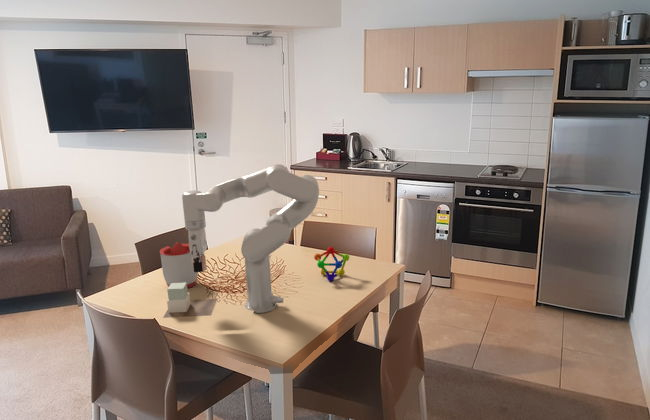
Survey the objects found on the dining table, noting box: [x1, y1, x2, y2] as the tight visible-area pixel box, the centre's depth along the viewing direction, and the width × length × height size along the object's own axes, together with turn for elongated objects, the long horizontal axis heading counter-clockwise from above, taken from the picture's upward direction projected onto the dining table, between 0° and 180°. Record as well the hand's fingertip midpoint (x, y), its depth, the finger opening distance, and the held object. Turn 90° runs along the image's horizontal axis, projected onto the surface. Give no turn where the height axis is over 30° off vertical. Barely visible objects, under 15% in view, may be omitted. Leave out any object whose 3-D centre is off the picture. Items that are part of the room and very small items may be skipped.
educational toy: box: [313, 246, 350, 282], centre depth 231 cm, size 16×13×15 cm
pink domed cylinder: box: [192, 254, 207, 272], centre depth 201 cm, size 5×5×5 cm
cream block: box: [166, 292, 191, 313], centre depth 205 cm, size 7×7×5 cm
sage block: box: [167, 282, 189, 300], centre depth 204 cm, size 6×6×4 cm
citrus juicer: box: [159, 242, 199, 289], centre depth 230 cm, size 16×17×20 cm
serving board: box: [162, 298, 218, 318], centre depth 206 cm, size 18×15×1 cm
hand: (199, 268), depth 202 cm, fingers closed on pink domed cylinder, 5 cm apart
